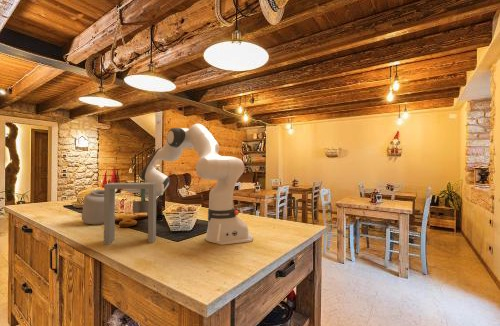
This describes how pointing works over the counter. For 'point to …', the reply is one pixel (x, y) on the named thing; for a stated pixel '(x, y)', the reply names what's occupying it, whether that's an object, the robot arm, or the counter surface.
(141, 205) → the hook tool
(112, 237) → the stand
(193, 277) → the counter surface
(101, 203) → the jar
